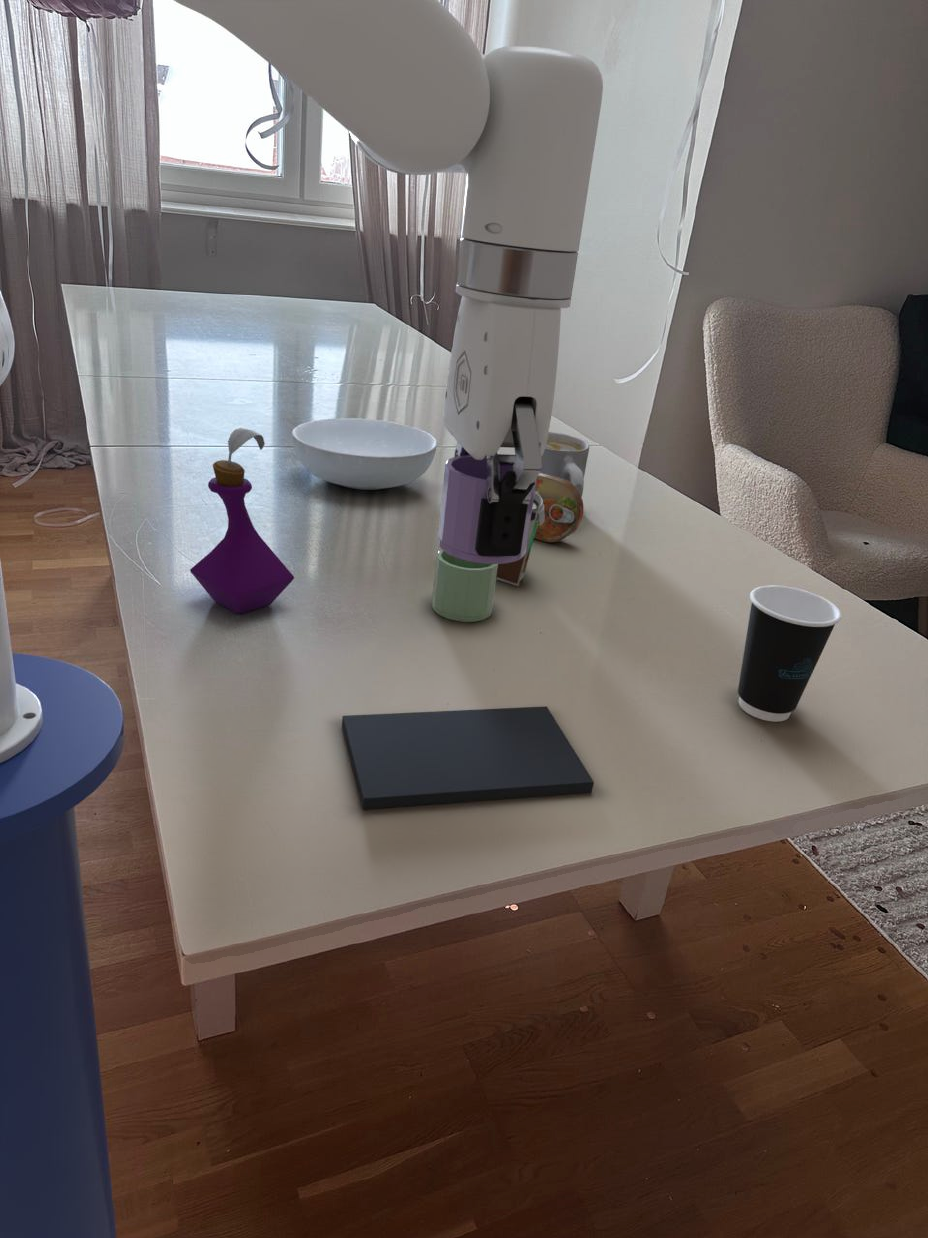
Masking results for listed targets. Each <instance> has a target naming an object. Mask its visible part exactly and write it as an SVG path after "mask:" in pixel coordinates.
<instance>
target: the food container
mask: <svg viewBox="0 0 928 1238" xmlns="http://www.w3.org/2000/svg"><path fill="white" fill-rule="evenodd" d="M538 521H539V525H542V524H543V523H544V521H545V513H544V504H543V500H542V498H541V497H540V495H538V494H537V493H536V492H535V494H534V500H533V507H532V514H531V520H530V527H529V533H528V540H527V546H526V553H525V555H524V556H523V557H522V558H521V559H519V560H517V561H514V562H510V563H504V564H499V565H498V572H497V579H496V581H500V582H502V583H503V582H504V583H507V584H510V585H513V586H516V587H519V586H521V585H522V583H523V580H524V577H525V573H526V568H527V565H528V562H529V559H530V554H531V551H532V547H533V543H534V539H535V538H534V536H535V532H536V528H537V525H538Z"/></svg>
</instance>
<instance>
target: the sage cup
mask: <svg viewBox="0 0 928 1238" xmlns="http://www.w3.org/2000/svg"><path fill="white" fill-rule="evenodd" d="M498 565H499V564H484V563H476V562H470V561H466V560H462V559H459V558H456V557H454V556H451V555H449V554H448V553H446V552H444V551H443V550H442V549H441V548H440V550H438V552H437V554H436V559H435V569H434V578H433V587H432V595H431V597H432V598H431V607H432V610H433V611H434V612H435V613H436V614H437V615H439V616H440V617H443V618H445V619H448V620H451V621H455V622H461V623H462V622H463V623H475V622H480V621H484V620H486V619H488V618H489V617H490V616H491V615H492V611H493V606H494V599H495V591H496V585H497V572H498Z"/></svg>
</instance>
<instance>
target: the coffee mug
mask: <svg viewBox="0 0 928 1238" xmlns="http://www.w3.org/2000/svg"><path fill="white" fill-rule="evenodd" d="M589 452H590V444H589V443H588V442H587V441H585V440H584V439H583V438H579V437H577V436H573V435H571V434H567V433H562V432H555V431H554V432H553V431H549V432H548V438H547V442H546V446H545V450H544V453H543V455H542V456H541V458H542V469H541V471H540V473H542V474H546V475H550V476H554V477H558V478H562V479H565V480H567V481H568V482H570V483H571V484H573V485H574V486H575V487H576V489H577V490H578V492H579V493H580V495H581V498H583V493H584V486H585V475H586V470H587V469H586V468H587V463H588V458H589Z"/></svg>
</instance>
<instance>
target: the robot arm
mask: <svg viewBox="0 0 928 1238" xmlns="http://www.w3.org/2000/svg"><path fill="white" fill-rule="evenodd" d="M173 1H174V2H176V3H177V4H179V5H181V6H183V7H185V8H187V9H190V10H192V11H194V12H196V13H198V14H200V15H202V16H204V17H205V18H208V19H209V20H211V21H212V22H215V23H216V24H217V25H219V26H220V27H222V28H223V29H225V30H226V31H227V32H229V33H230V34H232V36H234V37H236V38H237V39H238V40H239V41H241V42H242V43H243V44H245V45H246V46H247V47H249V49H251V50H252V51H253V52H255V53H256V54H257V55H259V56H260V57H261V58H262V59H264V61H266V62H267V63H268V64H269V65H271V66H272V67H273V68H274V69H276V71H278V72H279V73H281V74H282V75H283V76H284V77H285V78H287V80H289V81H290V82H291V83H292V84H293V85H294V86H296V87H297V88H298V89H299V90H300V91H302V92H303V93H304V94H305V95H307V96H308V98H310V99H311V101H313V102H314V103H316V104H317V105H318V106H319V107H320V108H321V109H323V110H324V111H325V112H326V113H327V114H328V115H330V116H331V117H332V118H333V119H334V120H335V121H337V122H338V123H339V124H340V125H341V126H342V127H343V128H344V129H346V130H347V131H348V132H349V134H350V136H351V139H352V140H353V142H354V143H355V145H356V147H357V148H358V150H359V151H360V152H361V153H362V154H363V155H364V156H365V157H366V158H367V159H368V160H369V161H370V162H371V163H372V164H373V163H374V164H375V165H376V166H377V167H380V168H382V169H384V170H386V171H388V172H391V173H393V174H394V173H395V174H398V175H399V174H400V175H408V176H429V175H434V174H438V173H440V174H441V173H442V174H443V173H445V174H451V173H452V174H455V173H456V174H466V182H465V183H466V184H465V193H464V203H463V212H462V213H463V214H462V221H461V222H462V224H461V231H460V232H461V233H460V236H461V238H460V244H459V252H458V253H459V255H458V264H457V275H456V284H455V294H458V295H459V296H461V299H460V304H459V308H458V313H457V318H456V323H455V328H454V332H453V333H454V334H453V339H452V346H451V352H450V360H449V366H448V373H447V380H446V387H445V393H444V401H443V409H442V422H443V425H444V427H445V429H446V430H447V431H448V432H449V434H450V435H451V436H452V438H454V439H455V441H456V444H455V445H456V446H455V450H454V457H456V456H462V455H471V456H472V457H473V458H474V459H476V460H483V459H484V458H485V455H487V499H481V505H480V513H479V521H478V529H477V537H476V545H475V550H476V552H477V553H478V555H480V556H517V555H519V554H520V552H521V547H522V540H523V534H524V527H525V520H526V513H527V507H528V504H529V503H530V500H531V490H532V488H533V485H535V482H534V481H535V479H536V478H537V476H538V475H539V473H540V471H541V469H542V458H541V456H542V455H543V453H544V450H545V446H546V442H547V438H548V432H550V431H549V430H550V427H551V420H552V413H553V407H554V398H555V389H556V380H557V369H558V359H559V348H560V332H561V314H562V310H561V309H567V308H570V307H571V303H572V296H573V288H574V282H575V276H576V269H577V263H578V257H579V249H580V245H581V244H580V243H581V237H582V231H583V223H584V218H585V213H586V207H587V206H586V205H587V198H588V192H589V185H590V179H591V178H590V177H591V172H592V166H593V165H592V164H593V159H594V155H595V154H594V152H595V146H596V139H597V133H598V127H599V120H600V114H601V109H602V101H603V93H604V81H603V76H602V73H601V70H600V68H599V66H598V65H597V64H596V62H594V61H593V60H591V59H589V58H588V57H586V56H584V55H581V54H578V53H574V52H571V51H567V50H564V49H563V50H562V49H558V48H557V49H556V48H549V47H543V46H532V45H531V46H530V45H529V46H528V45H510V46H509V45H508V46H501V47H499V48H495V49H493V50H492V51H490V52H489V53H487V54H484V53H481V52H480V50H479V48H478V47H477V45H476V43H475V41H474V40H473V38H472V36H471V35H470V34H469V33H468V31H467V30H466V29H465V27H464V25H462V23H460V21H459V20H458V19H457V18H456V17H455V16H454V15H453V14H452V13H451V12H450V11H449V10H448V8H446V7H445V6H444V5H443V4H442V2H440V1H439V0H173ZM14 333H15V332H14V328H13V325H12V320H11V317H10V314H9V310H8V308H7V305H6V302H5V300H4V297H3V294H2V291H1V290H0V386H2V384H3V383H4V382H5V380H6V379H7V377H8V375H9V373H10V371H11V369H12V366H13V363H14V359H15V351H16V350H15V346H16V345H15V344H16V343H15V334H14ZM500 448H508V449H509V448H510V449H513V448H514V454H501V453H498V451H499V450H500ZM500 466H513V470H512V471H507V472H506V473H505V474H504V476H503V477H502V479H501V480H500ZM2 570H3V569H2V561H1V559H0V763H2V762H4V761H6V760H8V759H10V758H12V757H13V756H15V755H16V754H18V753H19V752H21V751H22V750H23V749H25V748H26V747H27V746H28V745H29V744H30V743H31V742H32V741H33V740H34V739H35V737H36V736H37V735H38V733H39V732H40V729H41V726H42V723H43V719H42V708H41V704H40V701H39V700H38V698H37V697H36V695H35V694H33V693H32V692H31V691H30V690H28V689H27V688H25V687H23V686H21V685H19V684H17V683H16V681H15V673H14V665H13V657H12V653H13V649H12V641H11V635H10V626H9V618H8V610H7V602H6V592H5V585H4V578H3V571H2Z"/></svg>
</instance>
